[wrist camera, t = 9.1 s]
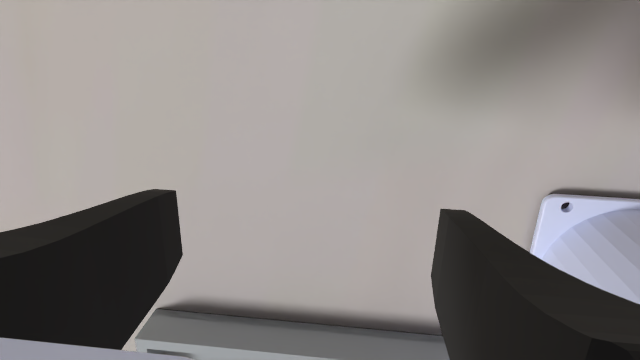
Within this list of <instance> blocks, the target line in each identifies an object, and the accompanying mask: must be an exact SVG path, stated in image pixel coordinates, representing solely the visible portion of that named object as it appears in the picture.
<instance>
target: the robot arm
mask: <svg viewBox="0 0 640 360" xmlns="http://www.w3.org/2000/svg"><path fill="white" fill-rule="evenodd" d="M566 202H569V206H568V207H567V208H565V209H561V206H562V204H564V203H566ZM182 255H183V254H182V244H181V235H180V225H179V216H178V206H177V197H176V191H174V190H159V189H153V190H147V191H142V192H138V193H135V194H132V195H128V196H125V197H122V198H119V199H116V200H113V201H110V202H107V203H104V204H101V205H98V206H95V207H92V208H89V209H86V210H82V211H79V212H76V213H72V214H69V215H66V216H63V217H59V218H56V219H53V220H49V221H46V222H42V223H39V224H35V225H31V226H27V227H23V228H18V229H14V230H10V231H5V232H1V233H0V360H194V359H191V358H188V357H182V356H173V355H163V354H153V353H144V352H134V351H125V350H121V349H122V348H123V346H124V345H125V344H126V342H127V341H128V340H129V338H130V337H131V335H132V334H133V333H134V331H135V330H136V328H137V327H138V326H139V324H140V323H141V321H142V320H143V319H144V317H145V316H146V315H147V313H148V312H149V310H150V309H151V308H152V306H153V305H154V303H155V302H156V301H157V299H158V298H159V296H160V295H161V293H162V292H163V291H164V289H165V288H166V286H167V285H168V283H169V281H170V279H171V278H172V276H173V274H174V272H175V270H176V268H177V266H178V264H179V261H180V259H181V257H182ZM431 279H432V287H433V295H434V303H435V309H436V312H437V316H438V320H439V323H440V327H441V331H442V334H443V338H444V341H445V345H446V348H447V352H448V356H449V359H450V360H640V199H629V198H613V197H598V196H582V195H567V194H550V195H548V196H546V197H545V198H544V199H543V201H542V203H541V207H540V211H539V215H538V220H537V224H536V228H535V232H534V236H533V241H532V245H531V249H530V252H528V251H526V250H525V249H523V248H521V247H520V246H518V245H517V244H515V243H514V242H512V241H511V240H509V239H508V238H506V237H505V236H503V235H502V234H500V233H499V232H497V231H496V230H494V229H493V228H492V227H490V226H489V225H487V224H486V223H484V222H483V221H481V220H480V219H478V218H477V217H475V216H474V215H472V214H471V213H469V212H467V211H465V210H451V209H441V210H440V217H439V224H438V231H437V238H436V245H435V252H434V259H433V266H432V272H431Z"/></svg>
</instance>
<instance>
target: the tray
mask: <svg viewBox="0 0 640 360" xmlns="http://www.w3.org/2000/svg"><path fill="white" fill-rule="evenodd" d="M135 344H136V350H137V352H144V353H153V354H163V355H173V356H182V357H188V358H191V359H194V360H450V359H449V356H448V352H447V348H446V345H445V341H444V338H443V336H438V335H427V334H417V333H406V332H396V331H385V330H374V329H364V328H353V327H343V326H332V325H322V324H311V323H300V322H290V321H279V320H269V319H258V318H247V317H237V316H226V315H216V314H205V313H195V312H184V311H173V310H163V309H156V310H155V311H154V313H153V314H152V315H151V317H150V318H149V319H148V321H147V322H146V324H145V325H144V326H143V328H142V329H141V331H140V332H139V333H138V335H137V336H136V338H135Z"/></svg>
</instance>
